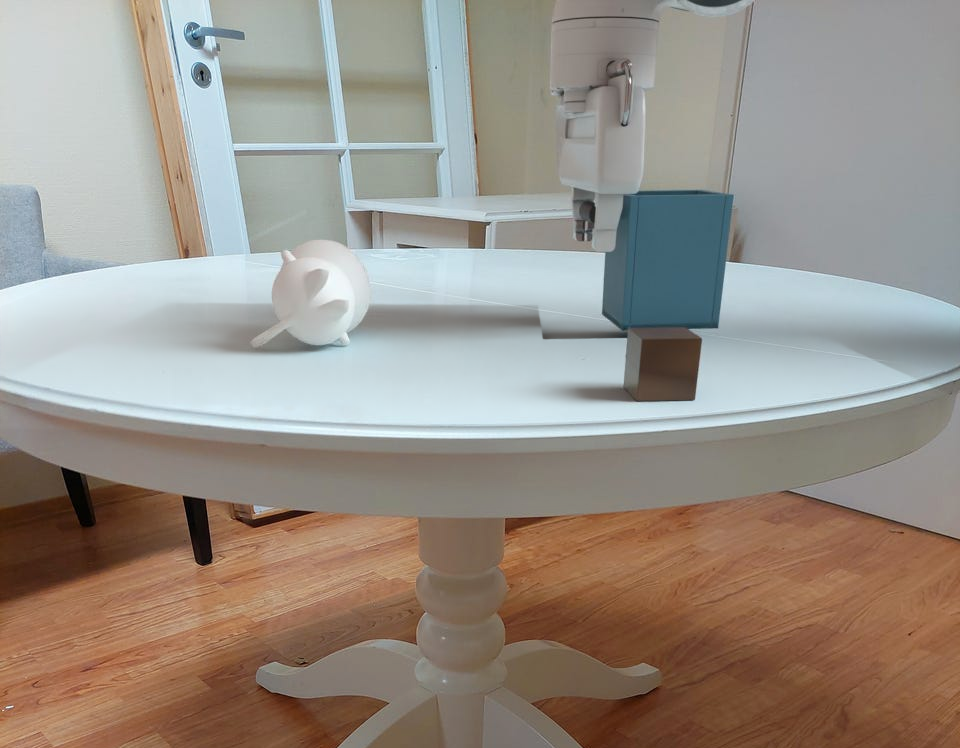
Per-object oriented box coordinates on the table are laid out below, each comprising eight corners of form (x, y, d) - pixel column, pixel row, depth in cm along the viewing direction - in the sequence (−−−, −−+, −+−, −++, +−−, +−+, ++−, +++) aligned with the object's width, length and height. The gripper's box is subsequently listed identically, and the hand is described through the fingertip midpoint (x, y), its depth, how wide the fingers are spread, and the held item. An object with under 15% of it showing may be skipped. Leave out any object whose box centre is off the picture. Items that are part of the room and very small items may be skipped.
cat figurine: (313, 226, 66) (337, 210, 77) (206, 306, 69) (243, 280, 80) (381, 329, 70) (395, 300, 80) (277, 400, 73) (303, 363, 83)
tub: (690, 312, 89) (702, 189, 84) (718, 328, 81) (734, 194, 76) (570, 315, 88) (575, 191, 83) (588, 331, 80) (594, 196, 75)
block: (678, 385, 63) (685, 326, 61) (695, 400, 59) (702, 338, 57) (623, 387, 62) (627, 327, 60) (636, 401, 59) (642, 338, 57)
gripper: (673, 55, 65) (655, 258, 72) (614, 74, 83) (603, 235, 90) (588, 55, 65) (578, 258, 72) (547, 74, 83) (542, 236, 90)
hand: (592, 245), depth 81 cm, fingers open, 8 cm apart
